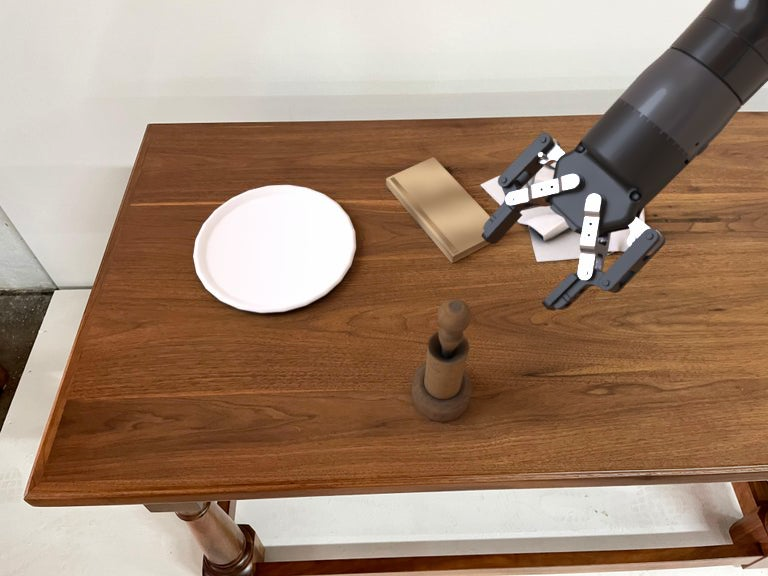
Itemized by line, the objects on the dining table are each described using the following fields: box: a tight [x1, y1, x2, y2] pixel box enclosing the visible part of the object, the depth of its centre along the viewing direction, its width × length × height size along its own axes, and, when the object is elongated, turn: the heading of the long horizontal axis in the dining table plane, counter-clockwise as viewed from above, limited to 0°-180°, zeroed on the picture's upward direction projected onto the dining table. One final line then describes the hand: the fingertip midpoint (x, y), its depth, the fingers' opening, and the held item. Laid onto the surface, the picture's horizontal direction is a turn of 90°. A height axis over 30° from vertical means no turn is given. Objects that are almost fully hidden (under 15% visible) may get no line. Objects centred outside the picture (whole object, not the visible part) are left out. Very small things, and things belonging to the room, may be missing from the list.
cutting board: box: [385, 156, 491, 264], centre depth 81 cm, size 16×8×2 cm, turn 32°
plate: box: [193, 184, 357, 314], centre depth 78 cm, size 21×21×1 cm
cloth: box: [480, 162, 646, 263], centre depth 81 cm, size 20×22×2 cm
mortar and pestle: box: [410, 298, 473, 423], centre depth 59 cm, size 7×6×18 cm
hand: (516, 272), depth 53 cm, fingers open, 8 cm apart
